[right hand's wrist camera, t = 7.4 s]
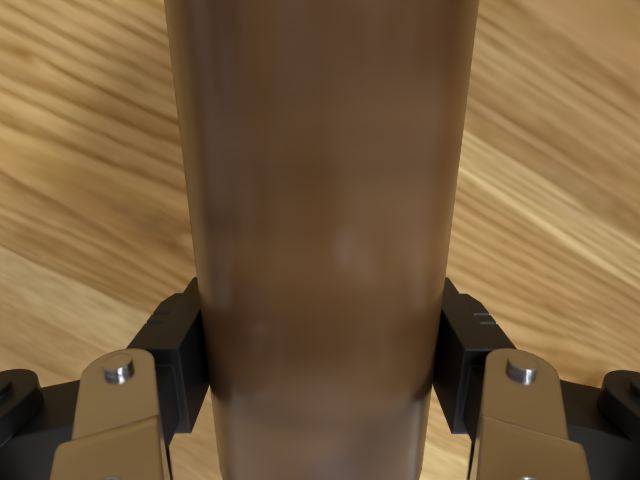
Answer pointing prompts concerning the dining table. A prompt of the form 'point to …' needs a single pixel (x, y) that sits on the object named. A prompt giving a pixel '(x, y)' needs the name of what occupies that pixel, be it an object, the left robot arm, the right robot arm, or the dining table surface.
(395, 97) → the rod
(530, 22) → the dining table surface
